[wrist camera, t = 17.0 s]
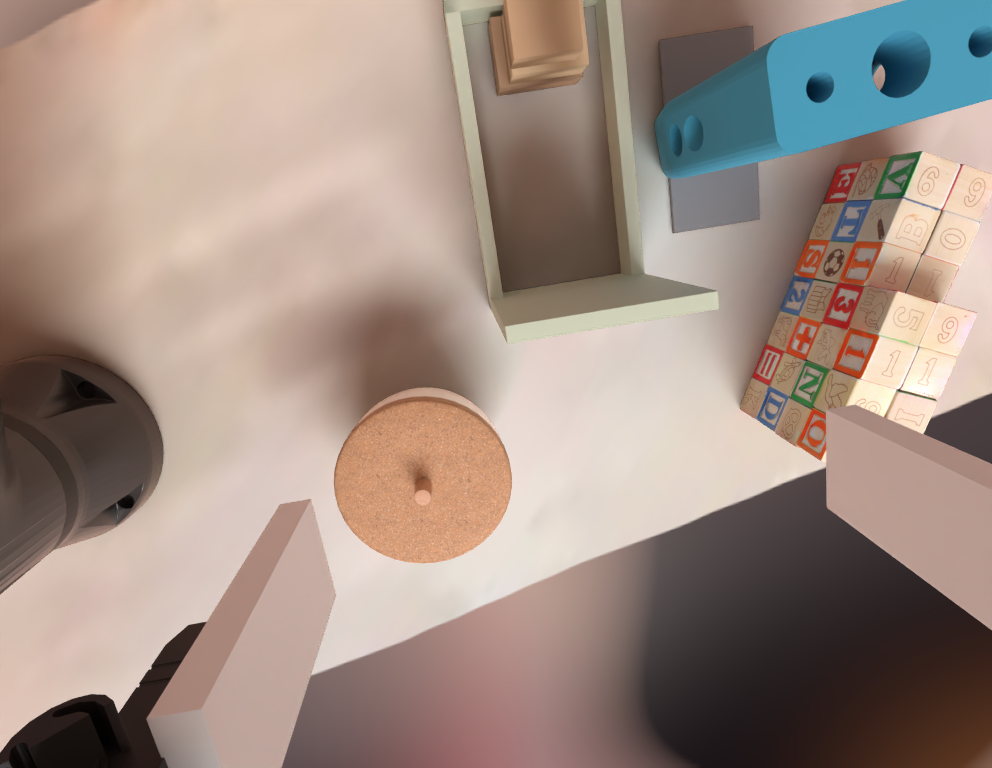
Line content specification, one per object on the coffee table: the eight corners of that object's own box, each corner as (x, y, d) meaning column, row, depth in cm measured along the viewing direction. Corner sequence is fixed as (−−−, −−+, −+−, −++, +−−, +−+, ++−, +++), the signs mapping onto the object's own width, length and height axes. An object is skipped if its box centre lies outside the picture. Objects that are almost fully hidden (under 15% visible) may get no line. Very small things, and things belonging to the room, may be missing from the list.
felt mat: (672, 233, 48) (674, 233, 47) (658, 41, 44) (660, 39, 44) (757, 219, 48) (759, 219, 48) (749, 27, 44) (752, 25, 44)
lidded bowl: (497, 510, 53) (509, 580, 42) (354, 507, 52) (328, 579, 41) (506, 372, 50) (520, 411, 39) (353, 366, 49) (326, 405, 38)
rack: (489, 307, 48) (507, 344, 33) (443, 12, 43) (438, -110, 27) (634, 283, 49) (718, 308, 33) (606, -13, 43) (693, -147, 28)
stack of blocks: (835, 163, 48) (962, 141, 36) (902, 186, 48) (1049, 172, 36) (737, 410, 52) (821, 463, 40) (800, 427, 53) (901, 484, 41)
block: (782, 78, 45) (1029, -35, 26) (790, 146, 46) (1032, 87, 27) (630, 120, 45) (763, 40, 26) (643, 187, 46) (779, 158, 27)
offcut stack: (497, 96, 44) (506, 70, 37) (487, 29, 43) (494, -11, 36) (576, 83, 45) (600, 55, 37) (568, 17, 43) (592, -26, 36)
